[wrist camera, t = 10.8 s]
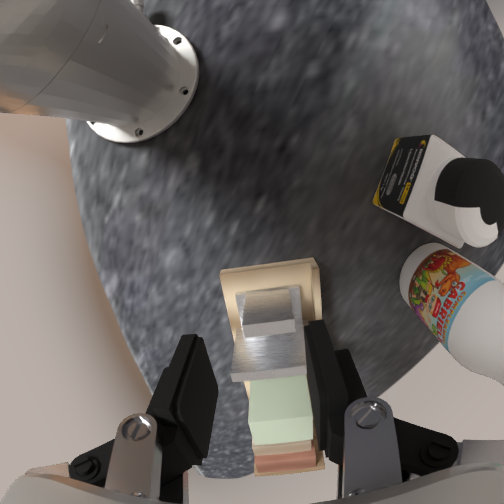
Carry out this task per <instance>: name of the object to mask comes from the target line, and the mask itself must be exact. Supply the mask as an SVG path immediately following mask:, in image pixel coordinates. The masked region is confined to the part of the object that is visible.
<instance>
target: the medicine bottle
mask: <svg viewBox="0 0 504 504" xmlns="http://www.w3.org/2000/svg"><path fill="white" fill-rule="evenodd" d="M373 204H374V205H375V206H377V207H380V208H382V209H384V210H386V211H388V212H390V213H392V214H394V215H396V216H398V217H400V218H402V219H404V220H406V221H408V222H410V223H411V224H413V225H415V226H417V227H419V228H421V229H423V230H425V231H427V232H429V233H430V234H432V235H434V236H436V237H438V238H440V239H442V240H444V241H446V242H447V243H449V244H451V245H453V246H455V247H456V248H462V246H463V244H464V242H465V243H467V244H469V245H471V246H473V247H484V246H487V245H489V244H490V243H492V242H493V241H494V240H495V239H496V238H497V237H498V236H499V235H500V234H501V232H502V231H503V229H504V175H503V174H502V172H501V170H500V169H499V168H498V167H497V166H496V165H495V164H494V163H493V162H491V161H489V160H485V159H475V158H465V157H464V156H463V155H462V154H460V153H459V152H458V151H456V150H455V149H454V148H452V147H451V146H450V145H448V144H447V143H446V142H444V141H443V140H441V139H440V138H438V137H437V136H435V135H423V136H412V137H403V138H397V139H395V141H394V144H393V147H392V150H391V153H390V156H389V158H388V161H387V164H386V167H385V170H384V172H383V175H382V178H381V180H380V183H379V185H378V188H377V191H376V193H375V196H374V198H373Z"/></svg>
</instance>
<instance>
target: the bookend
mask: <svg viewBox="0 0 504 504" xmlns="http://www.w3.org/2000/svg"><path fill="white" fill-rule="evenodd" d="M235 297H236V302H237V307H238V312H239V317H240V322H241V326H242V328H237V331H236V338H235V345H234V352H233V359H232V366H231V373H230V374H231V377H232V381H233V382H241V381H253V380H264V379H273V378H282V377H290V376H297V375H304V374H307V368H306V354H305V340H304V326H307V325H309V322H308V319H305V320H302V311H301V300H300V290H299V284H297V285H290V286H283V287H276V288H268V289H261V290H253V291H245V292H237V293H235Z"/></svg>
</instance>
